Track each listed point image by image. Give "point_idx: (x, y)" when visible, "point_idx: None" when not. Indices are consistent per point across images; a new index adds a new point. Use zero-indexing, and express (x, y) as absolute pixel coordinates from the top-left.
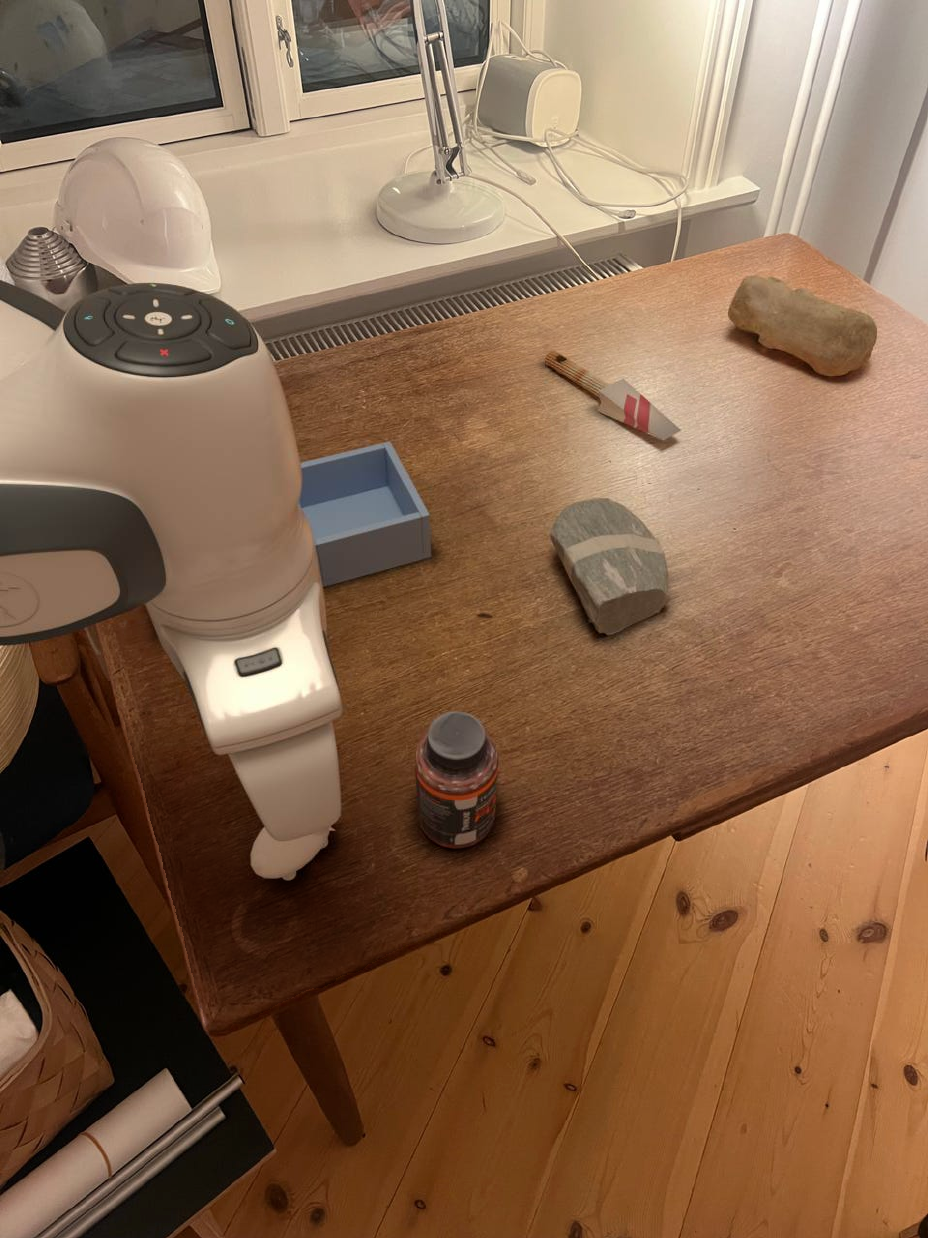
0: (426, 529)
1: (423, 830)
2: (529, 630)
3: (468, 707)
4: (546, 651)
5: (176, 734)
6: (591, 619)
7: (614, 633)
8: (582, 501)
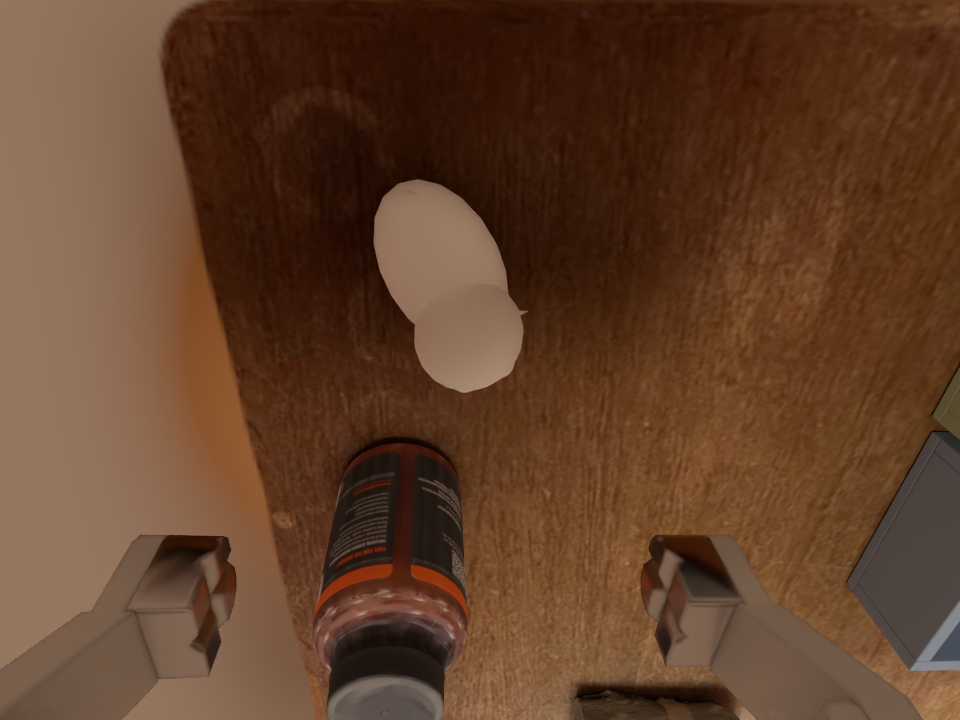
0: (890, 636)
1: (389, 446)
2: (639, 637)
3: (567, 546)
4: (596, 642)
5: (826, 98)
6: (601, 708)
7: (574, 702)
8: None
